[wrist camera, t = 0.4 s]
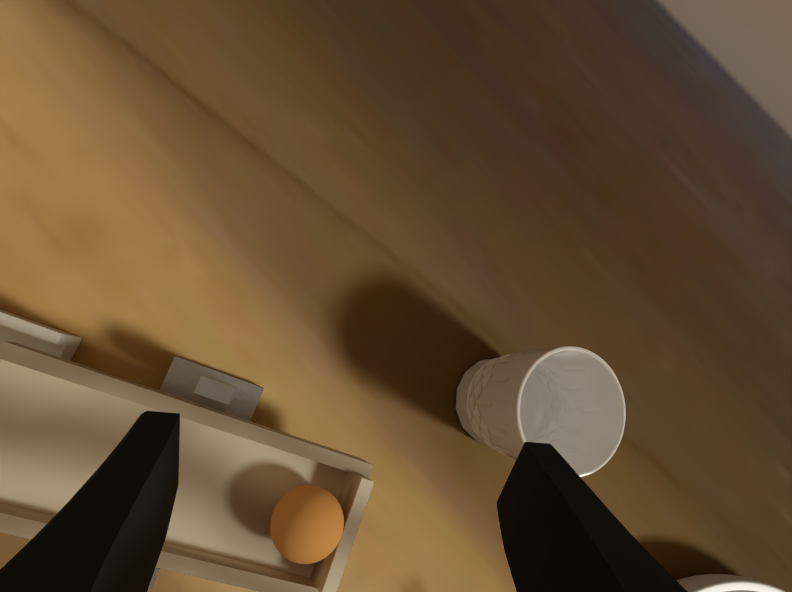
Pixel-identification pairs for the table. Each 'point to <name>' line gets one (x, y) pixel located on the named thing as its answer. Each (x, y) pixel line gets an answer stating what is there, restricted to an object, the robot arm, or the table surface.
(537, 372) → the white cup
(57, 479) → the lever
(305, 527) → the ball
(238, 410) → the lever stand
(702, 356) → the table surface
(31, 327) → the cream open box
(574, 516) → the robot arm
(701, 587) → the bowl
